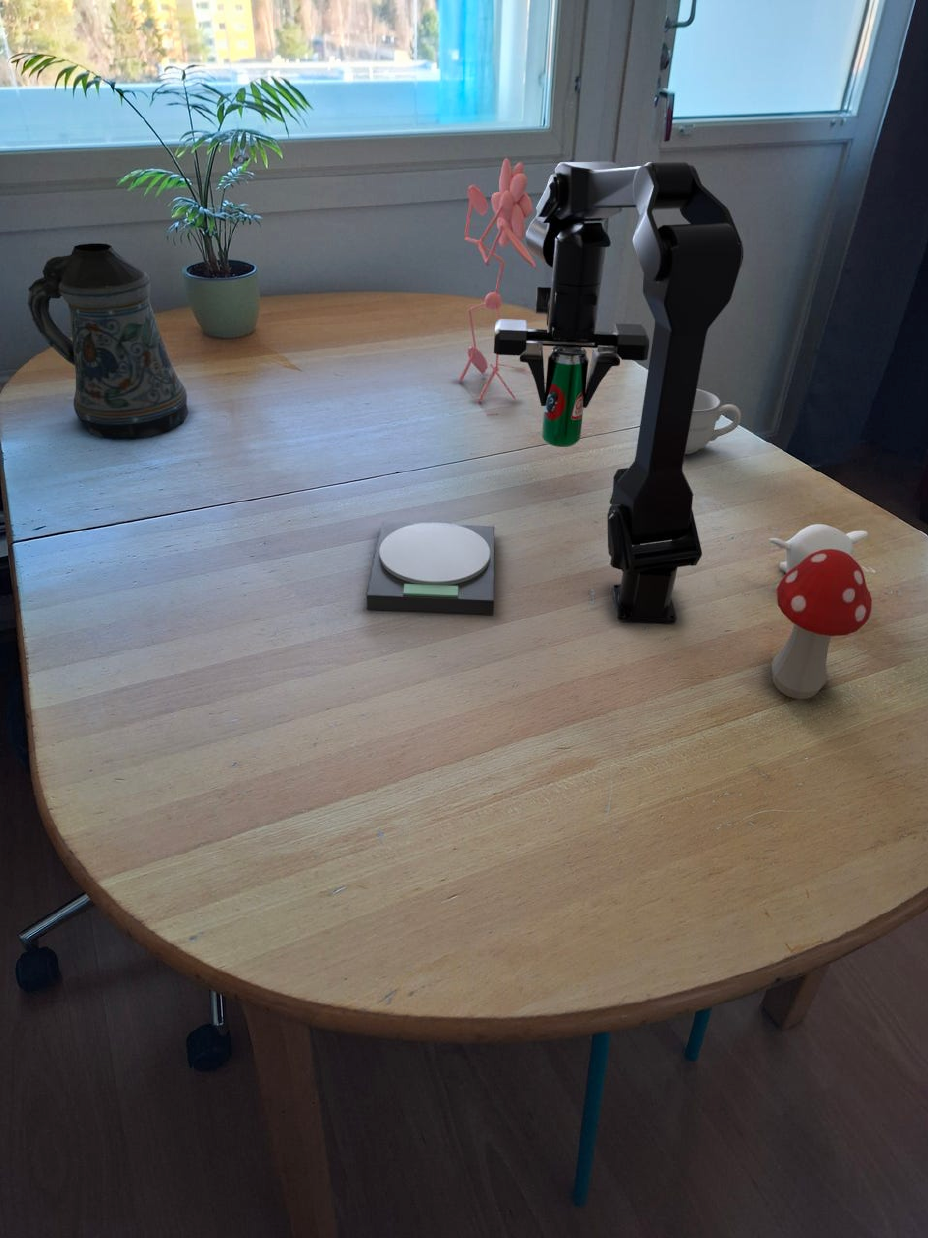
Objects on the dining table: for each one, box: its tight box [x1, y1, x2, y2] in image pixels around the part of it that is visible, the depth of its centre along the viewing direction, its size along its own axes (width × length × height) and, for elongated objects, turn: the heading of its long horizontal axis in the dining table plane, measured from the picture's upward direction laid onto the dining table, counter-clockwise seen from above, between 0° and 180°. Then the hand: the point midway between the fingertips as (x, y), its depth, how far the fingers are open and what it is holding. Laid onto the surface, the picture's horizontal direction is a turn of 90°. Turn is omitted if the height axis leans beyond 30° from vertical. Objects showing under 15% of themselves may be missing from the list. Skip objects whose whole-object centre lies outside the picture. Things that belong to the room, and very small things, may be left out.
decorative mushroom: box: [771, 549, 873, 700], centre depth 85 cm, size 10×9×15 cm
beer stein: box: [27, 242, 189, 440], centre depth 127 cm, size 16×19×25 cm
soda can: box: [541, 346, 590, 448], centre depth 112 cm, size 5×5×12 cm
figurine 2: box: [768, 523, 876, 574], centre depth 101 cm, size 12×8×10 cm
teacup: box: [685, 388, 742, 455], centre depth 130 cm, size 14×11×8 cm
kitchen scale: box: [366, 521, 495, 616], centre depth 102 cm, size 16×14×3 cm
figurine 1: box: [458, 157, 546, 416], centre depth 139 cm, size 15×26×35 cm, turn 21°
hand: (563, 405), depth 112 cm, fingers closed on soda can, 5 cm apart
